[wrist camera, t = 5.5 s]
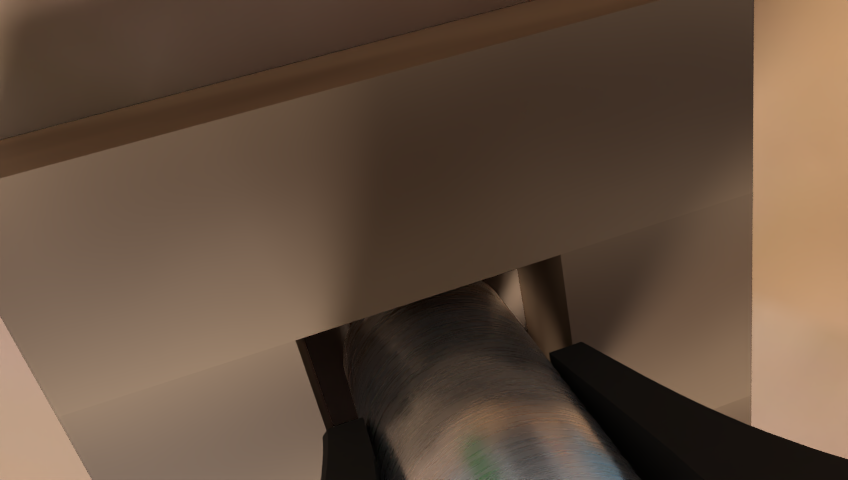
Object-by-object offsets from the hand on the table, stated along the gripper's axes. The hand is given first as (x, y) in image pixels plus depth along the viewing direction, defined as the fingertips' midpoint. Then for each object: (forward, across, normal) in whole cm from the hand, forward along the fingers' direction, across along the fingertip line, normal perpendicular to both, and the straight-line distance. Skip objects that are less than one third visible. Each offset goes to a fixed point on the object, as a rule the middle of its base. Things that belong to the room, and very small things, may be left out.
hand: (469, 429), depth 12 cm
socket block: (+3, 0, 0) cm, 3 cm away
